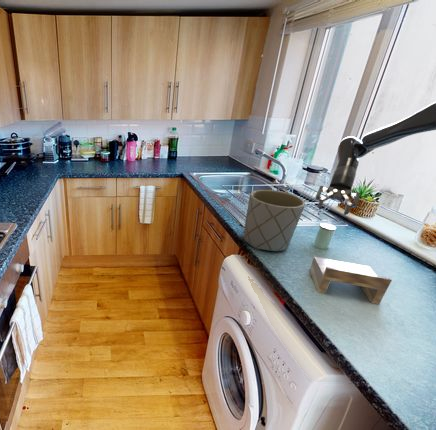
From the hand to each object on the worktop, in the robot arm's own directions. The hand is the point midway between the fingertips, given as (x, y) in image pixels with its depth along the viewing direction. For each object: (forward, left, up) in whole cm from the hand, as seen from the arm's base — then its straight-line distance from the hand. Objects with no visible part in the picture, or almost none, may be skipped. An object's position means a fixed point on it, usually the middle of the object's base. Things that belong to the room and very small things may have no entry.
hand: (332, 211), depth 118 cm
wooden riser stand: (+4, +36, -12) cm, 39 cm away
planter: (+24, +14, -13) cm, 31 cm away
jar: (+3, +8, -12) cm, 15 cm away
